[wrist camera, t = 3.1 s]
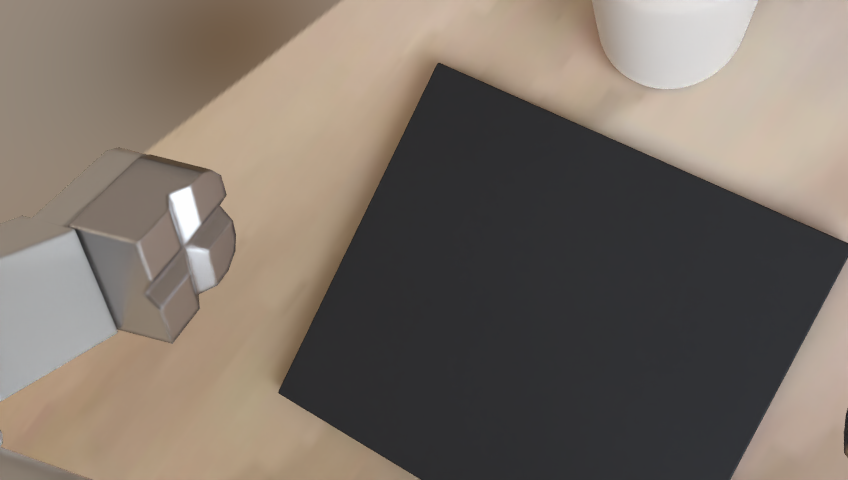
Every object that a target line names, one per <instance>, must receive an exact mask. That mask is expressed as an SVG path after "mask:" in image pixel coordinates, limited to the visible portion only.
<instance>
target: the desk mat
mask: <svg viewBox="0 0 848 480" xmlns="http://www.w3.org/2000/svg"><path fill="white" fill-rule="evenodd" d="M847 258H848V243H846V242H844V241H841V240H839V239H837V238H835V237H832V236H830V235H828V234H825V233H823V232H821V231H819V230H816V229H814V228H812V227H810V226H807V225H805V224H803V223H801V222H798V221H796V220H794V219H792V218H789V217H787V216H785V215H782V214H780V213H778V212H776V211H773V210H771V209H769V208H767V207H764V206H762V205H760V204H758V203H755V202H753V201H751V200H749V199H746V198H744V197H742V196H739V195H737V194H735V193H733V192H730V191H728V190H726V189H724V188H721V187H719V186H717V185H715V184H712V183H710V182H708V181H706V180H703V179H701V178H699V177H697V176H694V175H692V174H690V173H687V172H685V171H683V170H681V169H678V168H676V167H674V166H672V165H669V164H667V163H665V162H663V161H660V160H658V159H656V158H654V157H651V156H649V155H647V154H644V153H642V152H640V151H638V150H635V149H633V148H631V147H629V146H626V145H624V144H622V143H620V142H617V141H615V140H613V139H611V138H608V137H606V136H604V135H601V134H599V133H597V132H595V131H592V130H590V129H588V128H586V127H583V126H581V125H579V124H577V123H574V122H572V121H570V120H568V119H565V118H563V117H561V116H559V115H556V114H554V113H552V112H549V111H547V110H545V109H543V108H540V107H538V106H536V105H534V104H531V103H529V102H527V101H525V100H522V99H520V98H518V97H516V96H513V95H511V94H509V93H506V92H504V91H502V90H500V89H497V88H495V87H493V86H491V85H488V84H486V83H484V82H482V81H479V80H477V79H475V78H473V77H470V76H468V75H466V74H463V73H461V72H459V71H457V70H454V69H452V68H450V67H448V66H445V65H443V64H441V63H438V64H437V66H436V68H435V70H434V72H433V74H432V76H431V78H430V80H429V82H428V84H427V86H426V88H425V90H424V92H423V94H422V96H421V99H420V101H419V103H418V105H417V107H416V109H415V111H414V113H413V115H412V117H411V119H410V121H409V123H408V125H407V127H406V129H405V132H404V134H403V136H402V138H401V140H400V142H399V144H398V146H397V148H396V150H395V152H394V154H393V156H392V158H391V160H390V162H389V165H388V167H387V169H386V171H385V173H384V175H383V177H382V179H381V181H380V183H379V185H378V187H377V189H376V191H375V193H374V195H373V198H372V200H371V202H370V204H369V206H368V208H367V210H366V212H365V214H364V216H363V218H362V220H361V222H360V224H359V226H358V228H357V231H356V233H355V235H354V237H353V239H352V241H351V243H350V245H349V247H348V249H347V251H346V253H345V255H344V257H343V259H342V261H341V264H340V266H339V268H338V270H337V272H336V274H335V276H334V278H333V280H332V282H331V284H330V286H329V288H328V290H327V292H326V294H325V297H324V299H323V301H322V303H321V305H320V307H319V309H318V311H317V313H316V315H315V317H314V319H313V321H312V323H311V325H310V327H309V330H308V332H307V334H306V336H305V338H304V340H303V342H302V344H301V346H300V348H299V350H298V352H297V354H296V356H295V358H294V360H293V363H292V365H291V367H290V369H289V371H288V373H287V375H286V377H285V379H284V381H283V383H282V385H281V387H280V389H279V392H278V393H279V394H281V395H282V396H284V397H286V398H287V399H289V400H291V401H292V402H294V403H296V404H297V405H299V406H300V407H302V408H304V409H305V410H307V411H309V412H310V413H312V414H314V415H315V416H317V417H319V418H320V419H322V420H324V421H325V422H327V423H329V424H330V425H332V426H333V427H335V428H337V429H338V430H340V431H342V432H343V433H345V434H347V435H348V436H350V437H352V438H353V439H355V440H357V441H358V442H360V443H361V444H363V445H365V446H366V447H368V448H370V449H371V450H373V451H375V452H376V453H378V454H380V455H381V456H383V457H385V458H386V459H388V460H390V461H391V462H393V463H394V464H396V465H398V466H399V467H401V468H403V469H404V470H406V471H408V472H409V473H411V474H413V475H414V476H416V477H418V478H419V479H421V480H730V479H731V477H732V475H733V473H734V471H735V469H736V468H737V466H738V464H739V462H740V460H741V458H742V456H743V454H744V452H745V451H746V449H747V447H748V445H749V443H750V441H751V439H752V437H753V435H754V434H755V432H756V430H757V428H758V426H759V424H760V422H761V420H762V418H763V417H764V415H765V413H766V411H767V409H768V407H769V405H770V403H771V401H772V400H773V398H774V396H775V394H776V392H777V390H778V388H779V386H780V384H781V383H782V381H783V379H784V377H785V375H786V373H787V371H788V369H789V367H790V366H791V364H792V362H793V360H794V358H795V356H796V354H797V352H798V350H799V349H800V347H801V345H802V343H803V341H804V339H805V337H806V335H807V333H808V332H809V330H810V328H811V326H812V324H813V322H814V320H815V318H816V316H817V315H818V313H819V311H820V309H821V307H822V305H823V303H824V301H825V299H826V298H827V296H828V294H829V292H830V290H831V288H832V286H833V284H834V282H835V281H836V279H837V277H838V275H839V273H840V271H841V269H842V267H843V265H844V264H845V262H846V260H847Z"/></svg>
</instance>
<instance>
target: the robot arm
mask: <svg viewBox="0 0 848 480" xmlns="http://www.w3.org/2000/svg"><path fill="white" fill-rule="evenodd" d="M225 197H226V191H225V188H224V184H223V181H222V177H221V175H219V174H218V173H216V172H214V171H212V170H210V169H206V168H202V167H198V166H194V165H190V164H186V163H182V162H178V161H174V160H170V159H166V158H162V157H158V156H154V155H146V154H142V153H139V152H135V151H131V150H127V149H123V148H115V149H111V150H107V151H106V152H104V153H103V154H102V155H101V156H100V157H99V158H98V159H97V160H96V161H94V162H93V163H92V164H91V165H90V166H89V167H88V168H87V169H86V170H84V171H83V172H82V173H81V174H80V175H79V176H78V177H77V178H76V179H74V180H73V181H72V182H71V183H70V184H69V185H68V186H67V187H66V188H65V189H63V190H62V192H60V193H59V194H58V195H57V196H56V197H55V198H53V199H52V200H51V201H50V202H49V203H48V204H47V205H46V206H45V207H44V208H42V209H41V210H40V211H39V212H38V213H37V214H36V215H35V216H33V217H32V218H30V217H26V216H20V217H17V218H14V219H12V220H9V221H6V222H4V223H1V224H0V402H1V401H2V400H4V399H6V398H8V397H9V396H11V395H13V394H14V393H16V392H18V391H20V390H21V389H23V388H25V387H26V386H28V385H30V384H31V383H33V382H35V381H37V380H38V379H40V378H42V377H43V376H45V375H47V374H48V373H50V372H52V371H54V370H55V369H57V368H59V367H60V366H62V365H64V364H65V363H67V362H69V361H71V360H72V359H74V358H76V357H77V356H79V355H81V354H82V353H84V352H86V351H88V350H89V349H91V348H93V347H94V346H96V345H98V344H99V343H101V342H103V341H105V340H106V339H108V338H110V337H111V336H113V335H115V334H116V333H117V332H118V331H117V329H118V330H122V331H126V332H130V333H133V334H137V335H141V336H145V337H149V338H152V339H156V340H160V341H164V342H168V343H172V344H173V342H174V341H175V340H176V339H177V337H178V336H179V335H180V333H181V332H182V331H183V329H184V328H185V327H186V326H187V324H188V323H189V322H190V320H191V319H192V318H193V317H194V315H195V314H196V313H197V311H198V310H199V309H200V306H199V294H200V293H202V292H205V291H207V290H209V289H211V288H213V287H215V286H217V285H218V284H219V283H220V281H221V280H222V278H223V277H224V276H225V274H226V273H227V272H228V270H229V267H230V264H231V261H232V259H233V256H234V253H235V244H236V233H235V229H234V224H233V220H232V219H231V218H230V217H229V216H228V214H227V213H226V212H225V211H224V210H223V209H222V207H221V206H220V204H221V203H222V201H223V200H224V198H225ZM2 443H3V438H2V432H1V430H0V446H1V445H2ZM844 453H845V455H846V456H847V457H848V410H847V413H846V419H845V429H844ZM0 480H92V479H89V478H87V477H84V476H81V475H78V474H75V473H73V472H70V471H67V470H64V469H61V468H59V467H56V466H53V465H50V464H47V463H45V462H42V461H39V460H36V459H33V458H31V457H28V456H25V455H22V454H19V453H17V452H14V451H11V450H8V449H5V448H3V447H0Z"/></svg>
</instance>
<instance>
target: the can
mask: <svg viewBox="0 0 848 480" xmlns="http://www.w3.org/2000/svg"><path fill="white" fill-rule="evenodd" d="M757 2H758V0H592V3H593V8H594V13H595V19H596V24H597V29H598V33H599V38H600V41H601V44H602V47H603V49H604V52H605V54H606V55H607V57H608V59H609V60H610V62H611V63H612V64H613V65H614V66H615V68H616V69H617V70H618V71H620V72H621V73H622V74H623V75H625V76H626V77H627V78H629V79H631V80H632V81H634V82H637V83H639V84H641V85H644V86H648V87H652V88H658V89H677V88H683V87H687V86H691V85H694V84H697V83H699V82H701V81H703V80H705V79H707V78H709V77H711V76H712V75H714V74H715V73H716V72H718V71H719V70H720V69H721V68H722V67H724V66H725V65H726V63H727V62H728V61H729V60H730V59H731V58H732V56H733V55H734V54H735V52H736V51H737V49H738V47H739V45H740V43H741V41H742V39H743V37H744V35H745V32H746V30H747V28H748V25H749V23H750V20H751V18H752V15H753V13H754V10H755V7H756V5H757Z"/></svg>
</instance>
